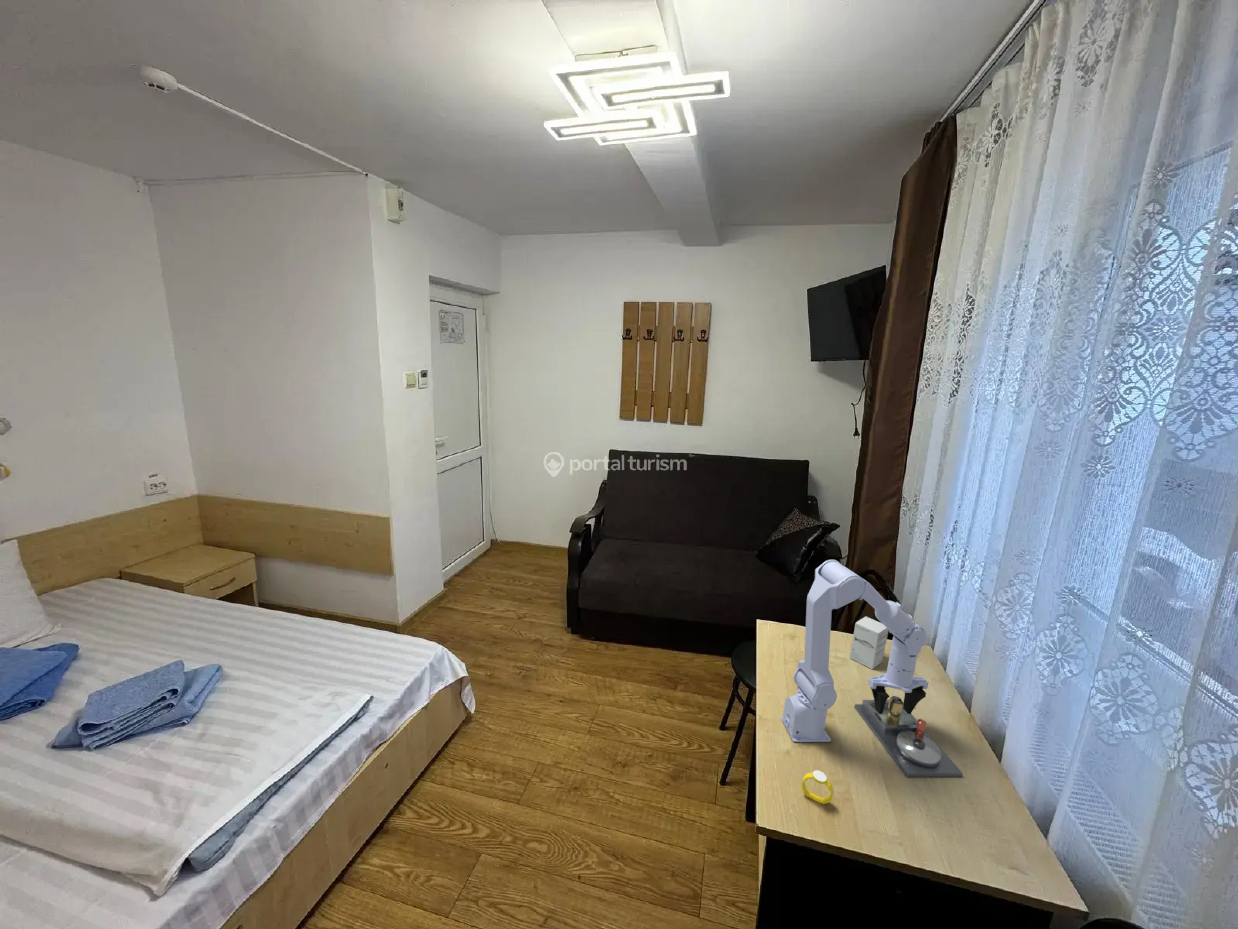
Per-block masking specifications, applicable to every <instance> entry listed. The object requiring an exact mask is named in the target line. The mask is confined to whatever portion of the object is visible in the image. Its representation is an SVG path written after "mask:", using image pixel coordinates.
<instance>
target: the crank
mask: <svg viewBox="0 0 1238 929" xmlns="http://www.w3.org/2000/svg"><path fill="white" fill-rule="evenodd" d="M926 727H927V722H926V721H925V720H924V719H921V718H918V719H917V726H916V731H915V732H911V731H903V732H900V733H899V734H898V735H897V740H896V746H897V748H898V750H899V751H900V752H901V753H902V754H903V755H904V756H905V757H906V758H908V759H909V760H911V761H913V762H915V763H917V764H920V765H923V766H928V767H933V766H937V765H938V764H939V763H940V760H941V751H940V749H939V747H940V746H939V745H938V744H937V743H936V742H935V741H934V742H935V743H936V744H937V745H938V746H939V747H938V746H937V745H936V744H935V743H934V742H933V741H931V740H930V739H929V738H927V737H925V736H924V733H925V732H926Z"/></svg>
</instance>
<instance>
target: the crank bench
mask: <svg viewBox="0 0 1238 929" xmlns="http://www.w3.org/2000/svg"><path fill="white" fill-rule="evenodd" d="M889 700H890V699H887V701H886V703H885V706H884V710H883V713H882V714H879V713H878V712H877V711H876V709H875V702H874V699H862V702H861V703H860V704H857V703H856V704H854V709H855V710H856V712H857V713H858V715H859V716H860V718H862V720H863V721H864V722H865V724H866V725H867V726H868V728H869V729H870V731H871V732H872V734H874V735H875V737H876V738H877V739H878V741H879V743H881V745H882V746H883V747H884V749H885V750H886V752H887V753H888V754H889V755H890V757H891V758H892V759H893V761H894V762H895V764H896V765H897V766H898V768H899V769H900V770H901V771H902V773H903V774H904V776H905V777H906V778H933V777H934V778H939V777H940V778H942V777H943V778H944V777H945V778H946V777H947V778H949V777H951V778H952V777H953V778H954V777H955V778H956V777H958V778H959V777H963V771H962V770H961V769H959V767H958V766H957V765H956V763H954V761H953V760H952V759H951V758H950V757H949V755H947V754H946V753H945V751H944V750H943V749H942V748H941V747H940V746H939V745H938V743H937V742H936V741H935V740H934V739H933V738H932V737H931V735H929V734H928V732H926V731H925V733H924V736H925V737H927V738H929V739H930V740H931V741H933V742H934V743H935V744H936V745H937V746H938V747H939V749H940V751H941V760H940V763H939V764H938V765H937V766H933V767H928V766H923V765H920V764H917V763H915V762H913V761H911V760H909V759H908V758H906V757H905V756H904V755H903V754H902V753H901V752H900V751H899V750H898V748H897V746H896V740H897V735H898V734H899V733H900V732H903V731H911V732H915V731H916V726H917V721H918V719H917V718H916V717H915V716H914V715H913V714H912V713H911V714H908V713H907V712H906V711H905V710H904V709H903V707H902V712H901V717H900V722H899V725H891V724H889V723H888V722H887V721H886V715H887V710H888V705H889Z"/></svg>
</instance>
